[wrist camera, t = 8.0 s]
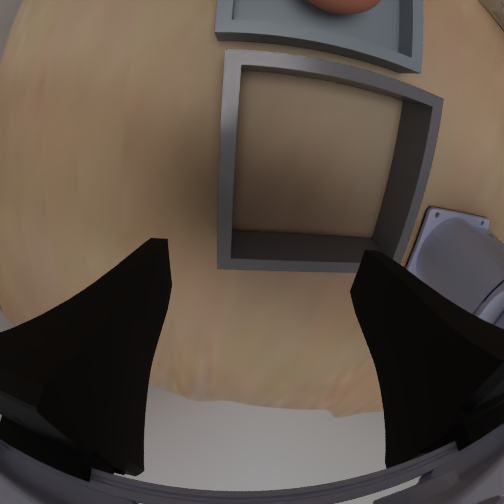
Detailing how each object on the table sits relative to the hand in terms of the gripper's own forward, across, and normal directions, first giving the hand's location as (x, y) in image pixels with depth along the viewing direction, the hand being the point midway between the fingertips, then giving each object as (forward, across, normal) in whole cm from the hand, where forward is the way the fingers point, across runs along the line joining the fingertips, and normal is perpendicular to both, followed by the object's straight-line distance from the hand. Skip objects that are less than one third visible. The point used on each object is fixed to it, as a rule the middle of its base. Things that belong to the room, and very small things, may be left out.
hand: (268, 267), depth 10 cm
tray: (+9, -3, -14) cm, 17 cm away
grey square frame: (+9, -4, -2) cm, 10 cm away
